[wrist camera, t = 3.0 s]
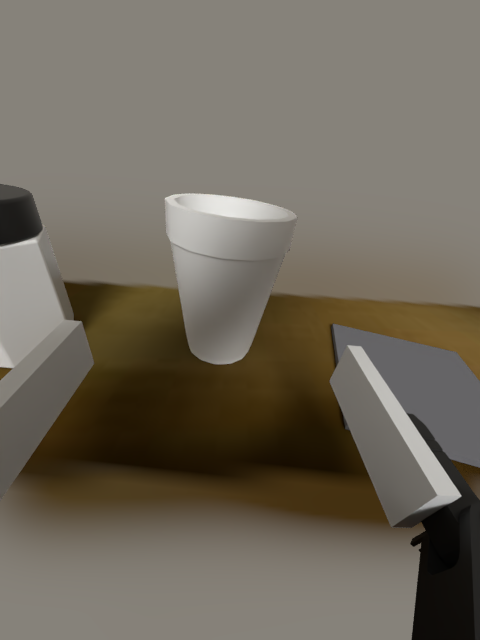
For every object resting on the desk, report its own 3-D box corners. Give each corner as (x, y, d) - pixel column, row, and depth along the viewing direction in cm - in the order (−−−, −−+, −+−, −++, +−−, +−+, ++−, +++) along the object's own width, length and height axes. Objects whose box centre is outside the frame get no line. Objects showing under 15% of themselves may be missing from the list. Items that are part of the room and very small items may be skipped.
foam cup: (185, 312, 28) (185, 189, 21) (262, 322, 29) (287, 204, 21) (159, 370, 20) (143, 207, 13) (265, 383, 21) (307, 230, 13)
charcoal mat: (453, 356, 28) (456, 352, 27) (554, 489, 16) (562, 485, 16) (331, 327, 29) (332, 323, 29) (345, 428, 18) (348, 424, 18)
